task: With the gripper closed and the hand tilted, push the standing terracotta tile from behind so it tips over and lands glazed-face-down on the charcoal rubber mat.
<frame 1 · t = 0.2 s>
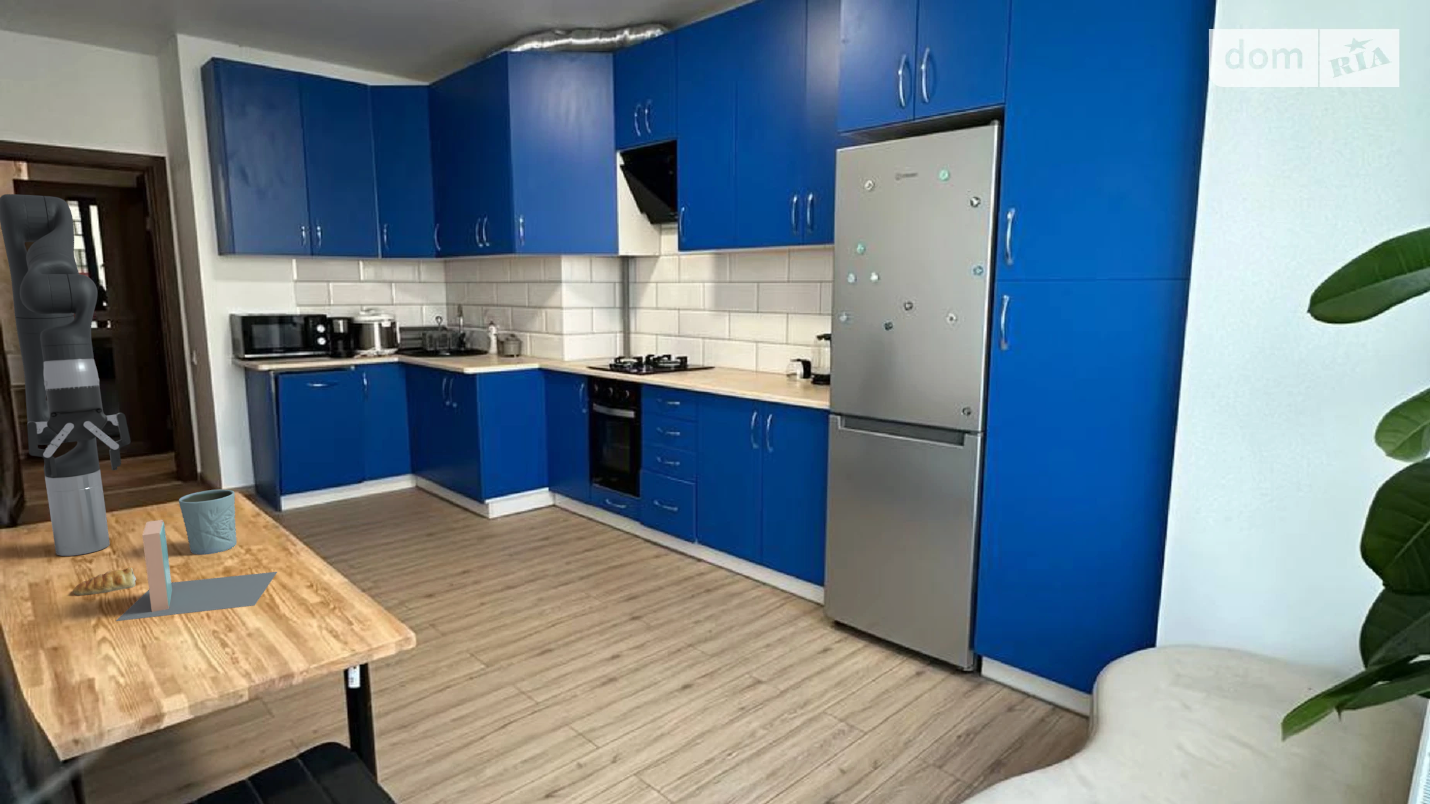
hand: (85, 473, 140), 23 cm above the table, tool pointing down, fingers open, 8 cm apart
pastry: (111, 592, 146), on the table
mat: (203, 597, 142), on the table
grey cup: (212, 549, 169), on the table
tile: (161, 601, 139), point 1 cm above the table, touching mat
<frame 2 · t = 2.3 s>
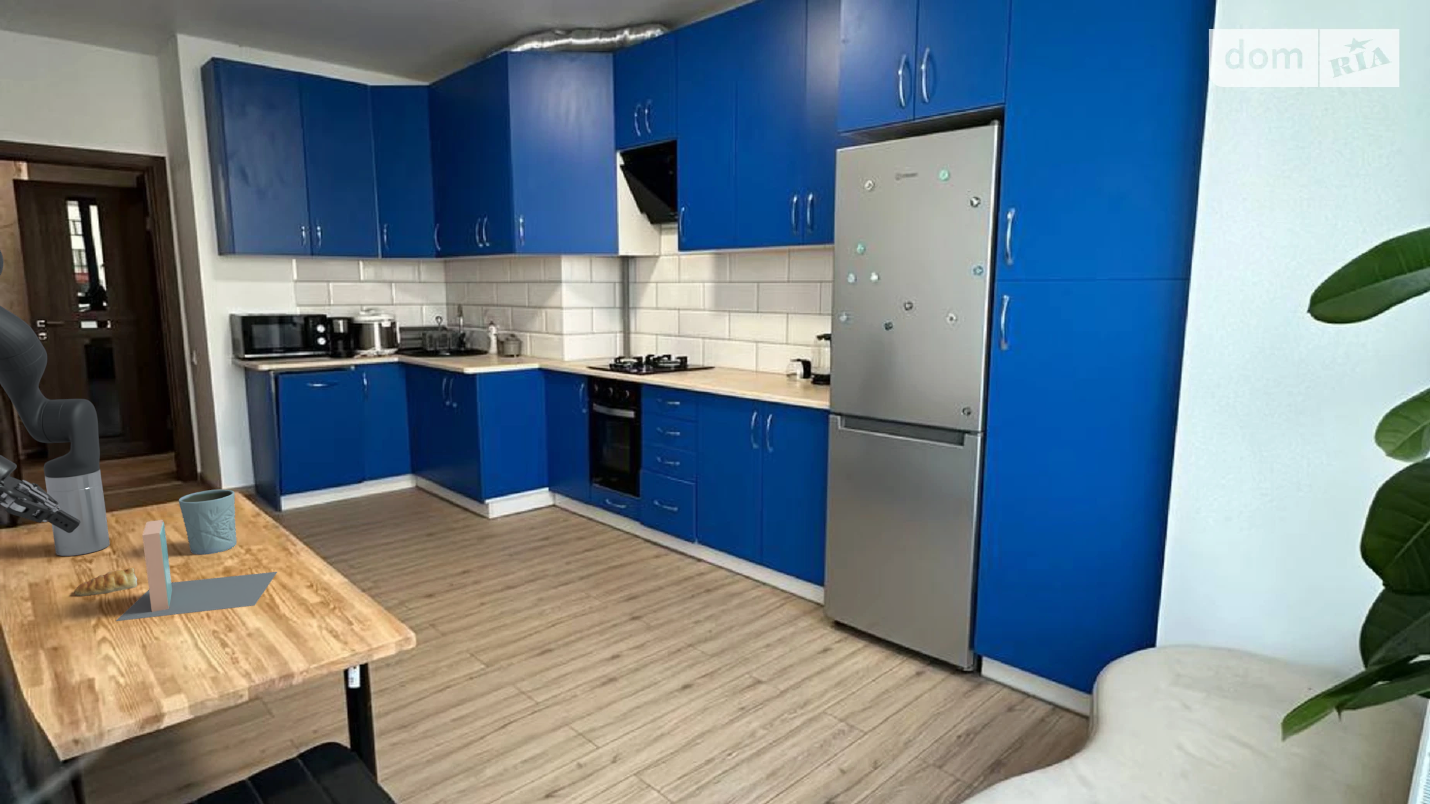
hand: (76, 527, 131), 16 cm above the table, tool tilted 45°, fingers closed
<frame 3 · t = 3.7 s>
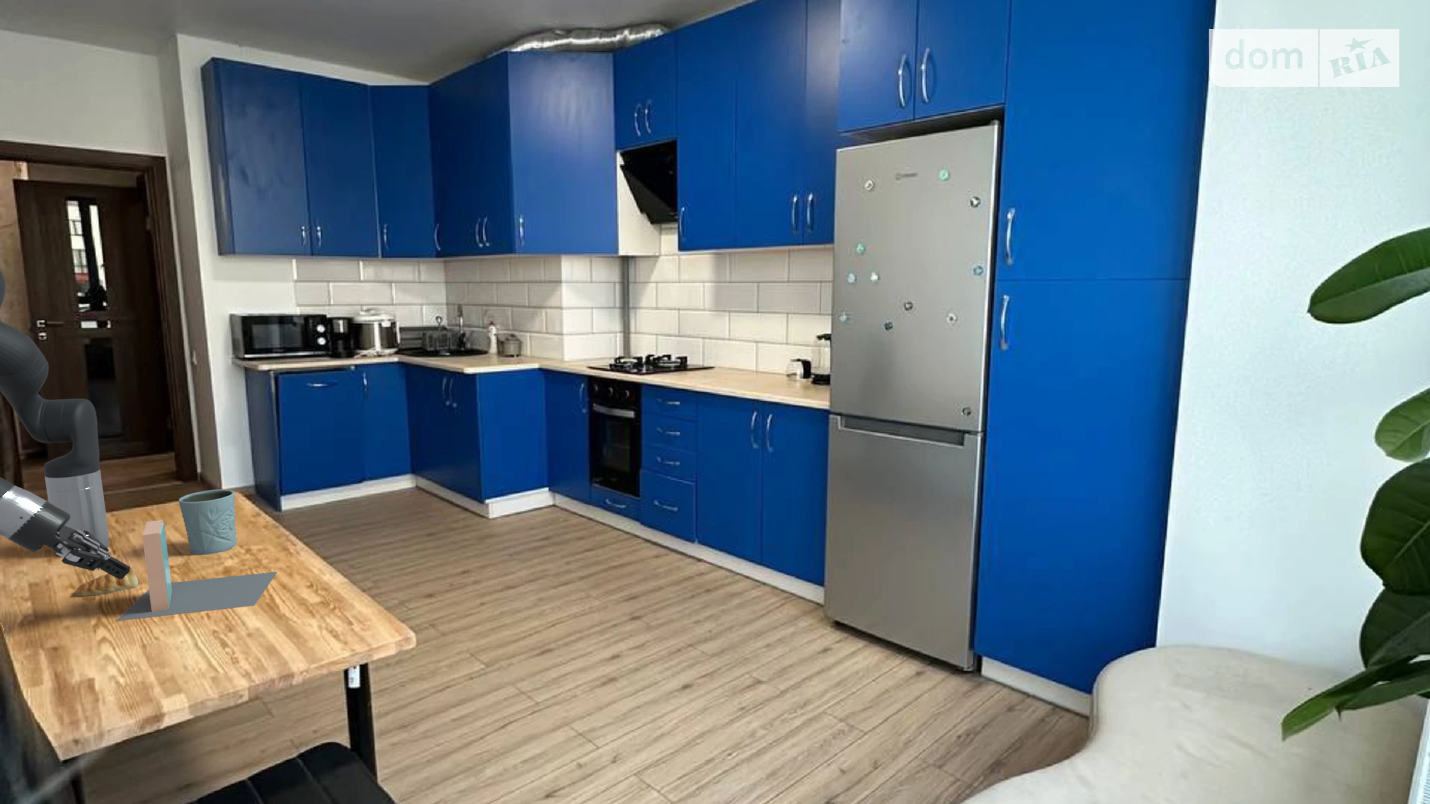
hand: (126, 573, 136), 7 cm above the table, tool tilted 45°, fingers closed
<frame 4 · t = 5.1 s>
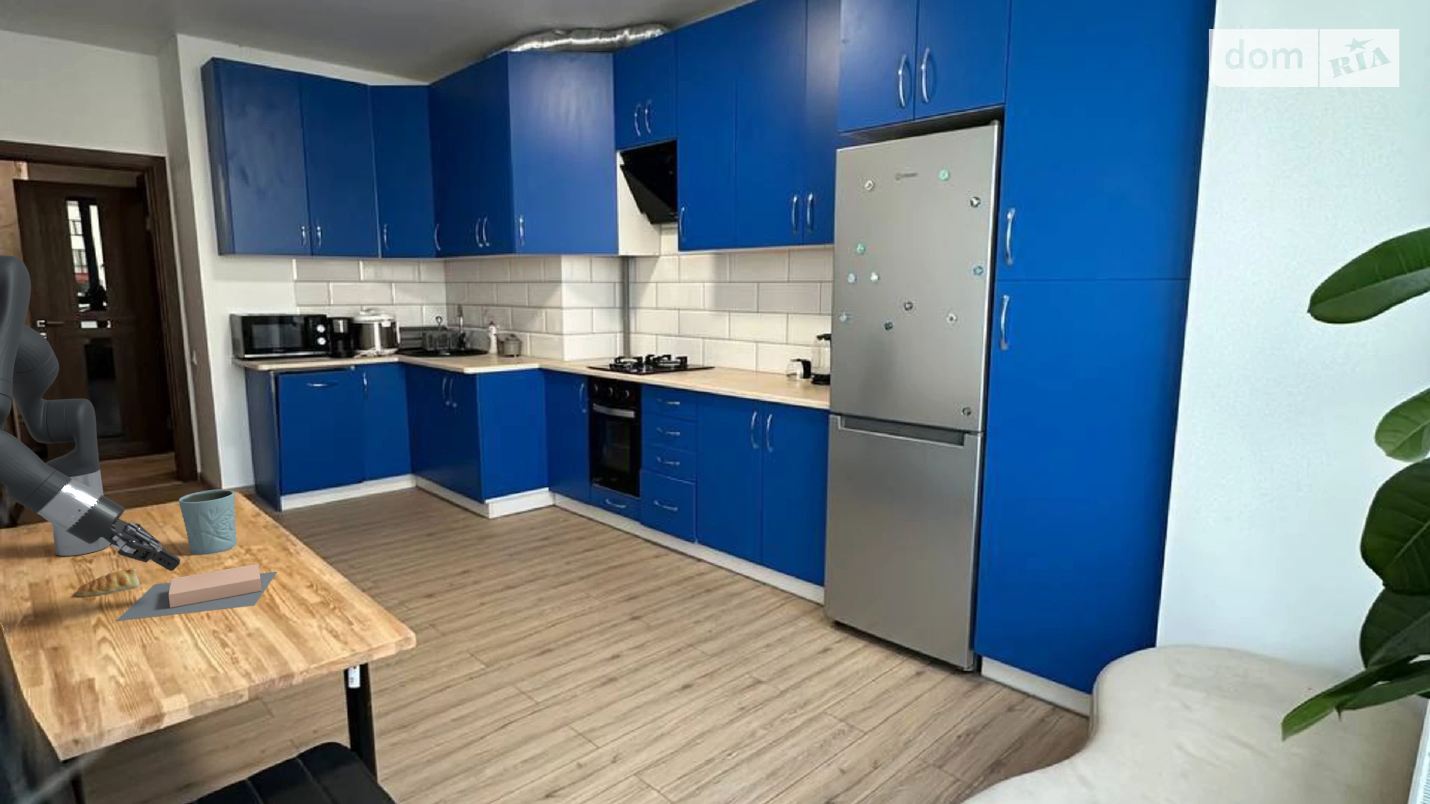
hand: (176, 565, 140), 7 cm above the table, tool tilted 45°, fingers closed
tile: (170, 592, 140), point 2 cm above the table, tilted 90°, touching mat
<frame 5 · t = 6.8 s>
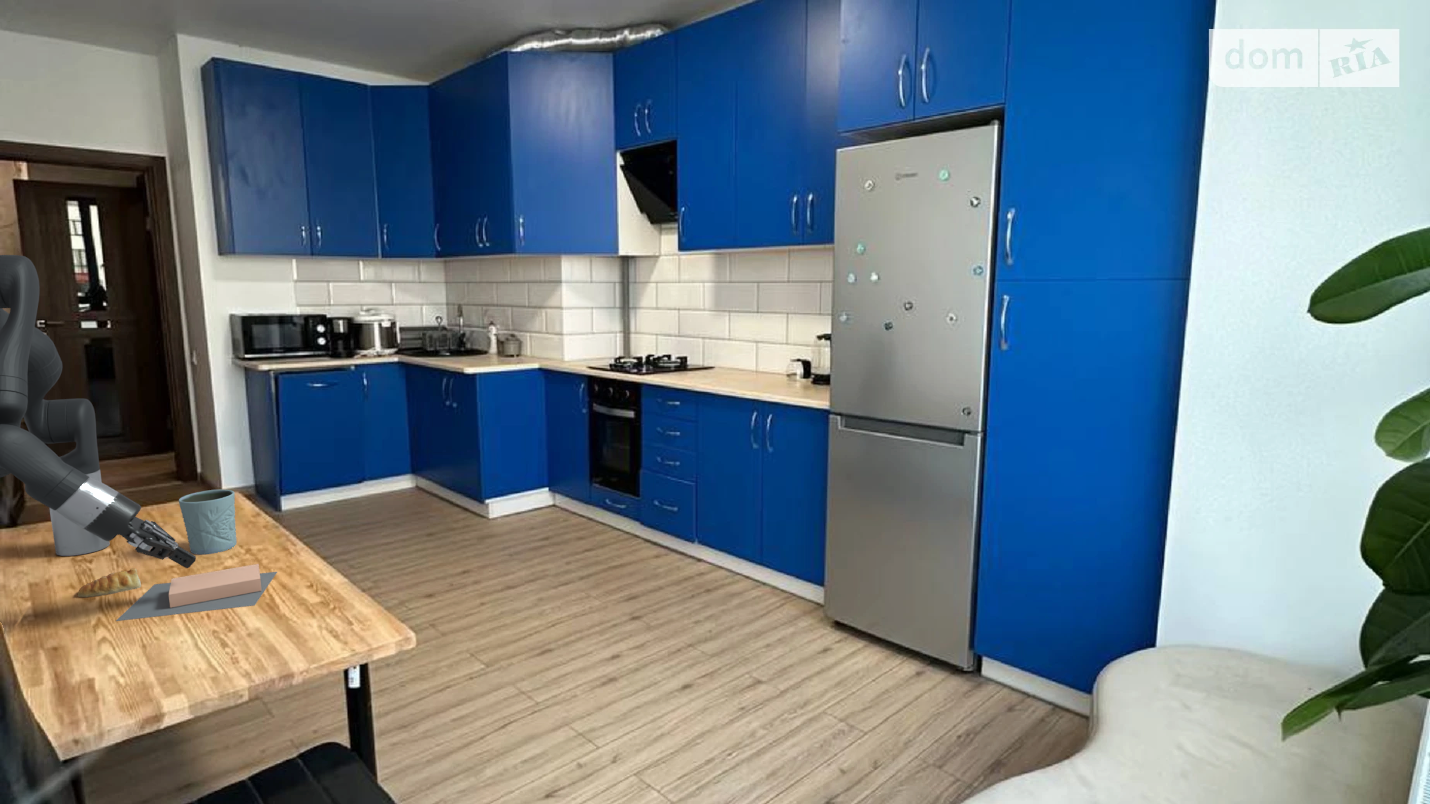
hand: (192, 562, 141), 7 cm above the table, tool tilted 45°, fingers closed
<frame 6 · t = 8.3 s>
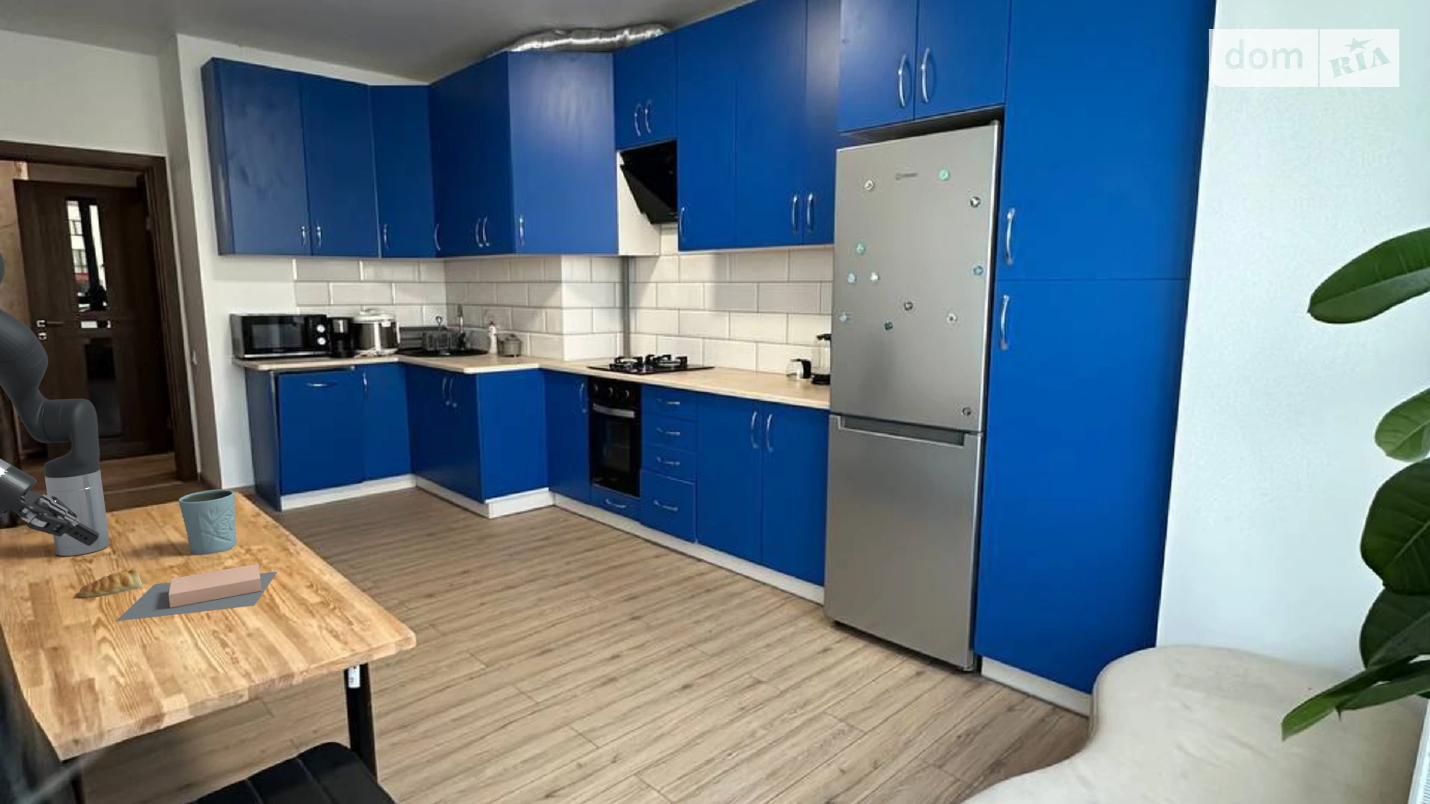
hand: (95, 540, 133), 14 cm above the table, tool tilted 45°, fingers closed
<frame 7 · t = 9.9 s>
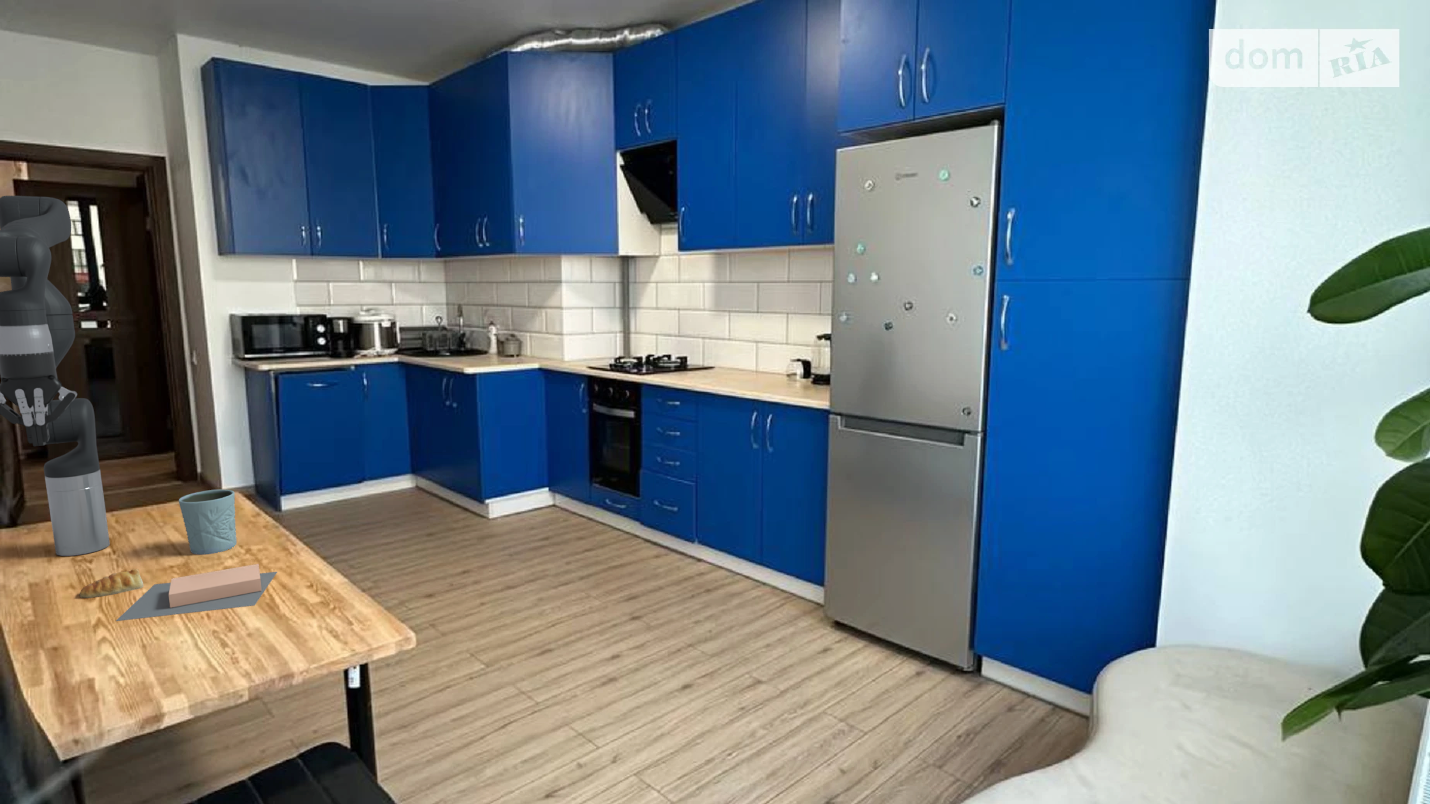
hand: (39, 444, 140), 29 cm above the table, tool pointing down, fingers closed
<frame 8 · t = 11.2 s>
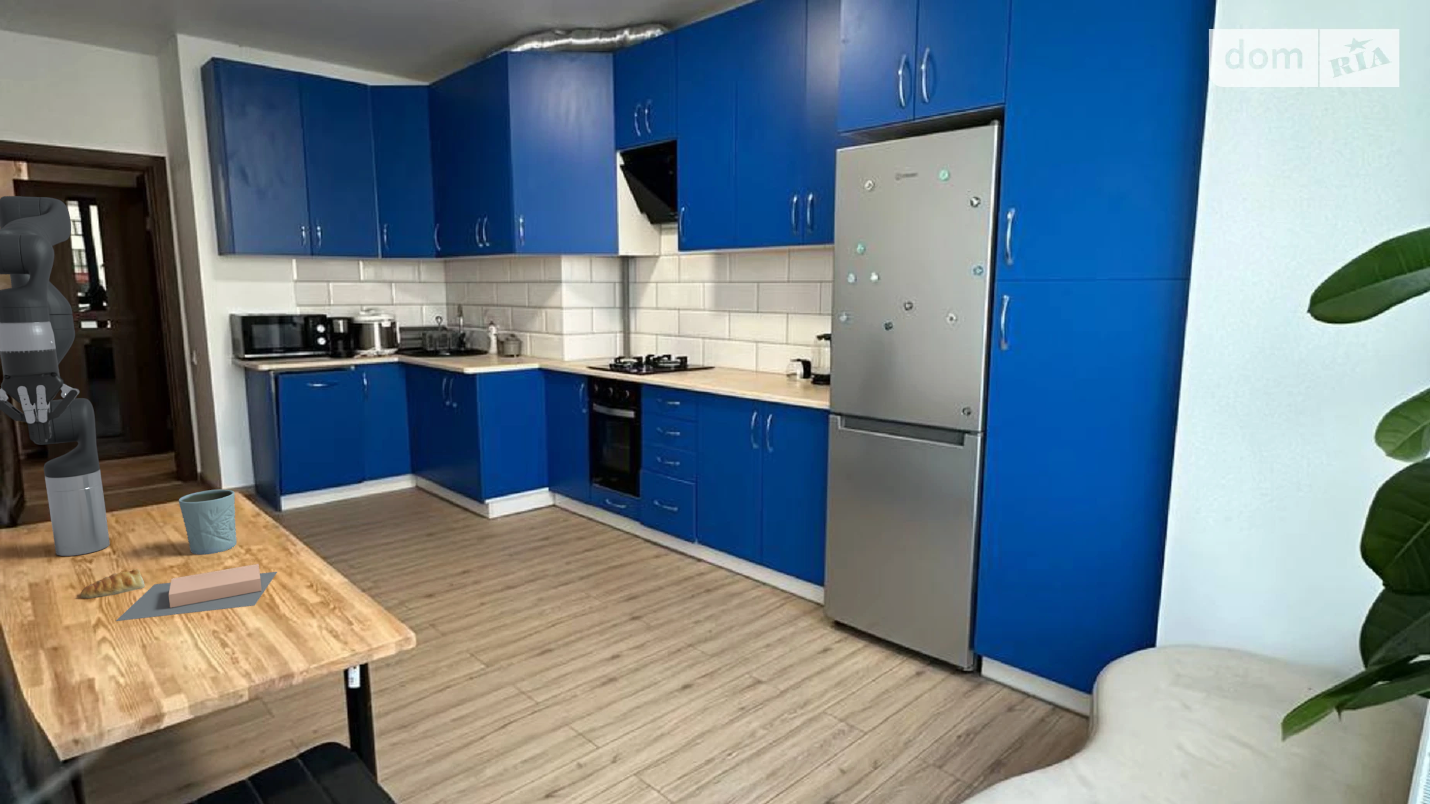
hand: (41, 442, 140), 29 cm above the table, tool pointing down, fingers closed
at the end: tile tilted 90°; tile inside the target area on the mat (4.7 cm from its centre), point 1.9 cm above the mat's base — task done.
